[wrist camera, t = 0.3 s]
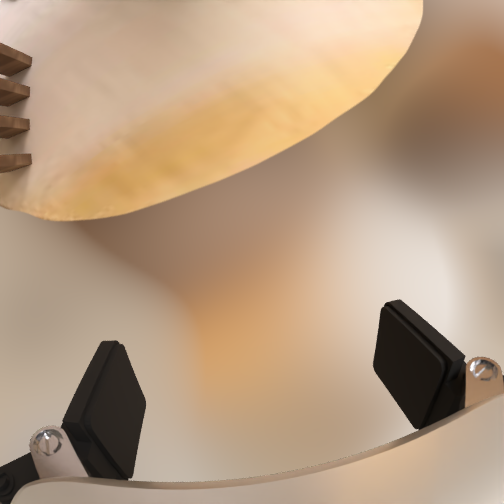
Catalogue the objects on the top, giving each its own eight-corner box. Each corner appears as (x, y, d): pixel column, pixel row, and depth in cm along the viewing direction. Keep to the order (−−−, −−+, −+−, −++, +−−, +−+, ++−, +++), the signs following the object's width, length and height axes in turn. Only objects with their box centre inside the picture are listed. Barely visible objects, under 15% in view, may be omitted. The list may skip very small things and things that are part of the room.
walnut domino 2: (7, 97, 29) (-31, 90, 19) (29, 87, 29) (-8, 75, 20) (7, 106, 29) (-31, 100, 20) (29, 96, 30) (-9, 86, 20)
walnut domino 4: (9, 161, 32) (-32, 166, 23) (30, 153, 33) (-10, 155, 23) (10, 171, 33) (-31, 178, 23) (31, 163, 33) (-9, 168, 24)
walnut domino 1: (10, 68, 27) (-26, 56, 18) (32, 57, 28) (-3, 41, 18) (9, 76, 28) (-27, 66, 18) (31, 65, 28) (-5, 51, 19)
